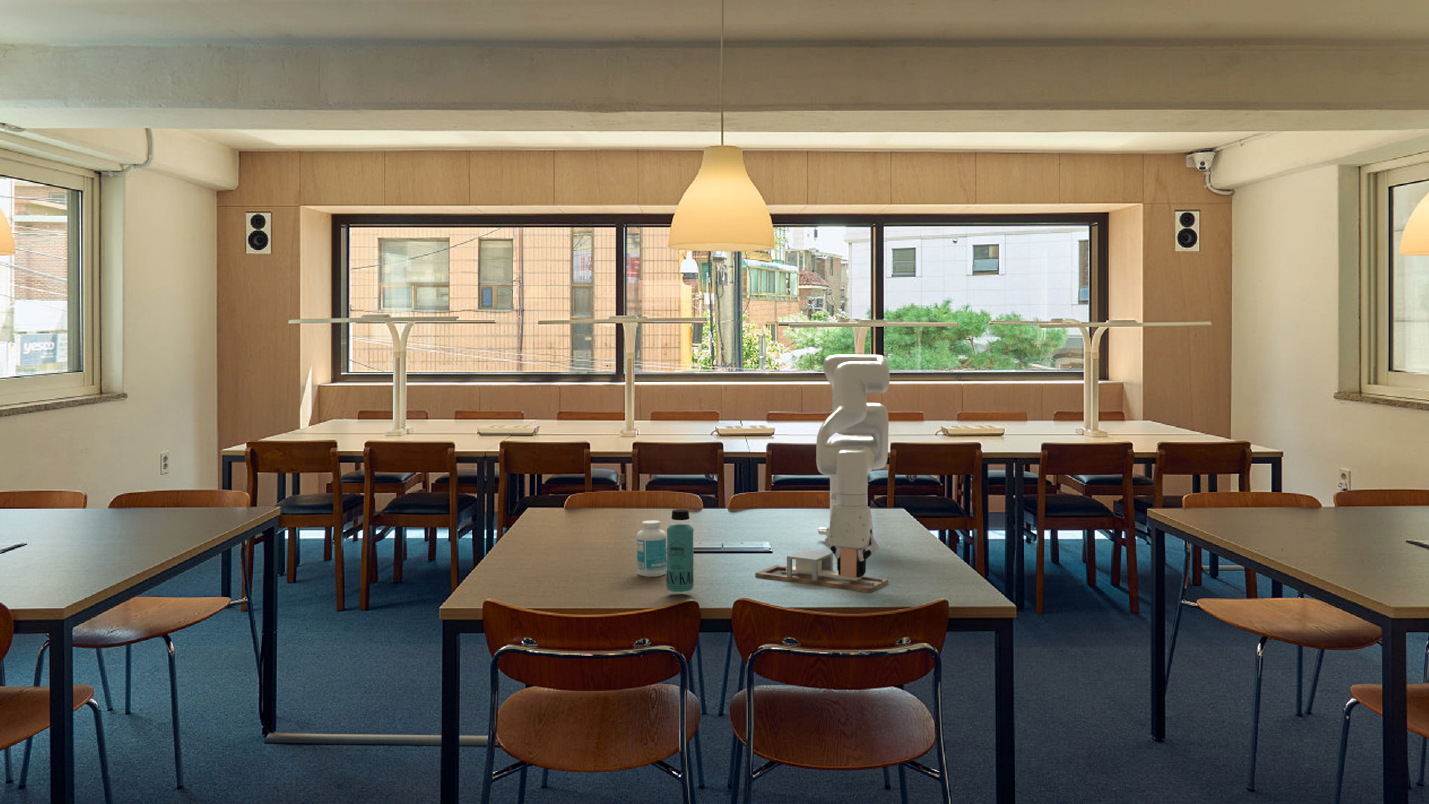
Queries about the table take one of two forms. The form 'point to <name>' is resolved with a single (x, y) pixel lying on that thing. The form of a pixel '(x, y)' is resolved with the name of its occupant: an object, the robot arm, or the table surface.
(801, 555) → the bridge tunnel
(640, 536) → the pill bottle
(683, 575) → the beverage bottle
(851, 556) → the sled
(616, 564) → the table surface
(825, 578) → the rail board
